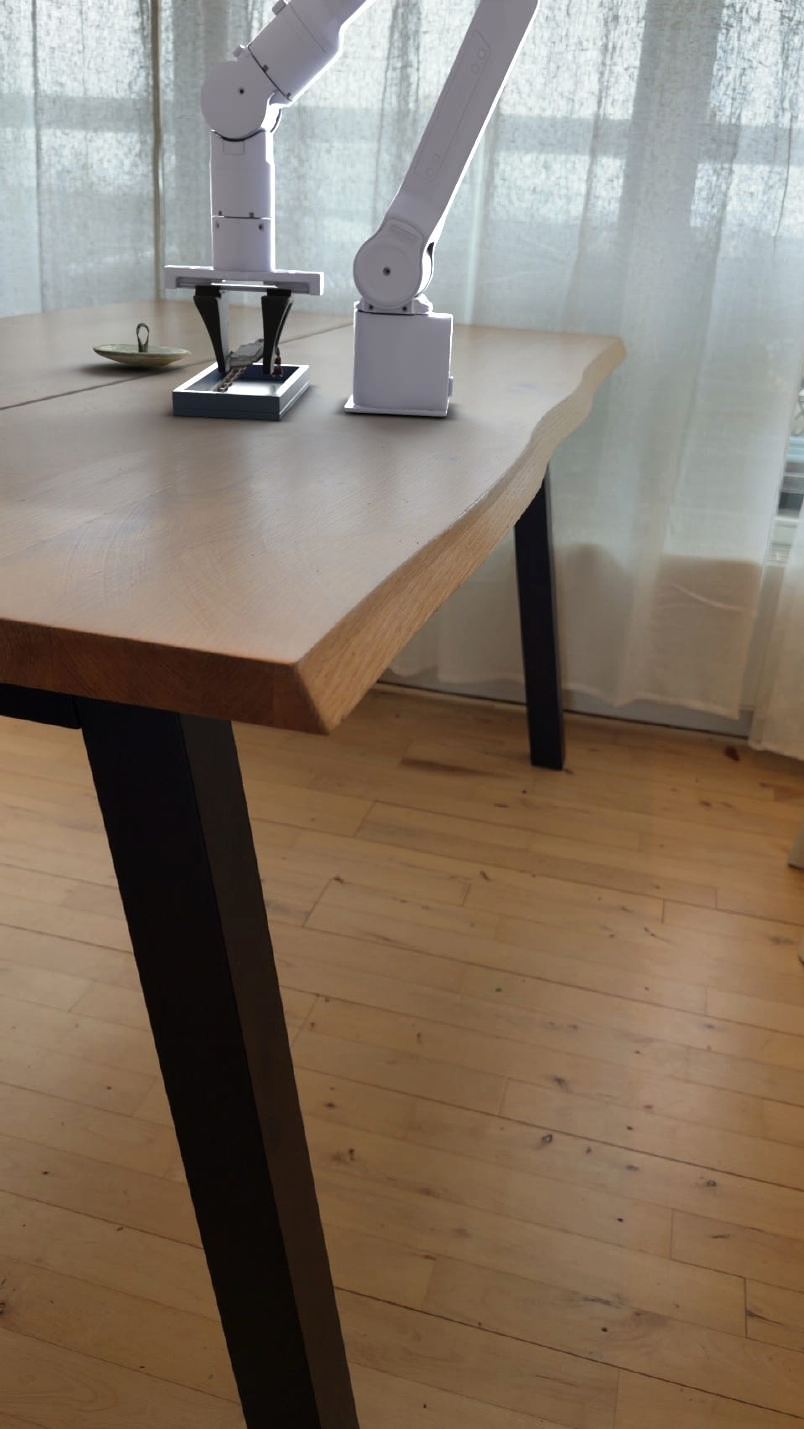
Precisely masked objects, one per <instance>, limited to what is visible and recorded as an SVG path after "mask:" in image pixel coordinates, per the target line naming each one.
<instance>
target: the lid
mask: <svg viewBox="0 0 804 1429" xmlns="http://www.w3.org/2000/svg"><path fill="white" fill-rule="evenodd" d="M141 328H145V329H146V332H147V337H146V339H145V340H146V341H145V342H144V343H143V342H142V339H141V338H140V335H139V333H140V331H141ZM135 332H136V333H135V334H136V338H137V344H136V343H135V344H133V343H132V344H131V343H124V344H123V343H121V344H119V343H118V344H116V343H109V344H108V343H107V344H101V345H95V346H93V348H92V350H93V351H94V353H96V354H97V355H98V356H100V357H103V358H105V359H108V360H111V361H114V362H117V363H120V364H125V365H130V366H134V367H142V368H154V367H165V366H168V365H170V364H172V363H175V362H178V361H180V360H181V361H182V360H183V359H186V358H188V357H190V355H191V354H192V352H191V351H190V350H187V349H184V348H183V349H182V348H177V347H172V346H167V345H154V344H153V345H150V344H149V337H150V328H149V326H148V325H147V324H146V323H145V322H140V323H138V324H137V326H136V328H135Z"/></svg>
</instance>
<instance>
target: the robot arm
mask: <svg viewBox="0 0 804 1429" xmlns="http://www.w3.org/2000/svg"><path fill="white" fill-rule="evenodd" d="M375 1H376V0H289V2H288V1H287V0H278V1H277V2H276V3H275V4H274V5H273V6H272V7H271V12H272V13H273V15H274V17H273V18H272V19H271V20H269V22H268V23H267V24H266V25H265V26H264V27H263V28H262V29H261V30H260V32H258V33H257V34H256V36H254V37H253V39H252V40H251V41H250V42H248V44H247V45H246V46H243V45H242V44H239V45H238V46H237V47H236V48H235V49H234V50H233V51H232V55H233V57H234V58H235V60H225V61H220V62H219V63H216V64H215V65H213V66H212V68H211V69H210V73H209V74H208V75H207V76H206V78H205V80H204V82H203V83H202V87H201V89H200V98H199V100H200V109H201V112H202V116H203V118H204V120H205V122H206V123H207V124H208V126H209V128H211V129H209V147H210V148H209V151H210V152H209V153H210V159H209V177H210V178H209V184H210V185H209V188H210V190H209V191H210V215H211V217H210V218H211V219H210V221H211V251H212V252H211V253H212V257H211V258H212V266H206V265H203V266H201V265H171V264H170V265H164V267H163V272H164V273H163V274H164V275H163V276H164V277H163V278H164V288H165V289H167V290H177V289H185V290H188V289H189V290H194V295H193V296H192V299H193V303H194V305H195V307H196V309H197V311H198V313H199V315H200V317H201V319H202V321H203V323H204V326H205V328H206V330H207V332H208V336H209V339H210V342H211V345H212V348H213V352H214V356H215V360H216V362H217V366H218V372H224V373H226V372H227V371H228V370H230V365H229V360H230V358H229V357H228V355H229V354H230V344H229V311H230V310H229V309H230V308H229V307H230V305H229V304H230V292H249V293H266V294H264V295H261V297H260V306H261V315H262V330H263V333H262V334H263V339H264V344H263V358H262V364H263V374H264V375H271V374H272V373H273V372H274V363H275V358H277V355H276V352H277V347H279V344H280V339H281V336H282V333H283V330H284V327H285V325H286V322H287V319H288V317H289V314H290V312H291V310H292V308H293V306H294V304H295V301H296V296H295V295H309V296H314V297H315V296H317V297H321V296H322V295H323V294H324V272H322V271H307V270H306V271H304V270H292V269H291V270H290V269H278V268H277V269H276V236H275V235H276V232H275V231H276V226H275V225H276V222H275V221H276V219H275V217H276V216H275V163H274V140H273V139H274V137H273V136H274V133H275V132H276V130H277V129H278V127H279V125H280V122H281V119H282V113H283V107H291V105H293V103H295V102H296V101H297V99H299V98H300V97H301V96H302V95H303V94H304V92H306V91H307V90H308V88H310V87H311V86H312V84H314V83H315V82H316V81H317V80H318V79H319V78H320V77H321V76H322V75H323V74H324V73H325V72H326V71H327V70H328V69H329V68H330V67H331V66H333V64H334V63H335V62H336V61H337V60H339V58H340V57H341V56H342V54H343V45H344V34H345V30H346V28H347V27H348V26H349V25H350V24H351V23H352V22H354V21H355V20H356V19H357V18H358V17H359V16H360V15H361V14H362V13H363V12H364V11H366V9H368V8H369V7H370V6H372V4H373V3H374V2H375ZM540 2H541V0H478V4H477V5H476V8H475V11H474V13H473V15H472V17H471V20H470V23H469V25H468V26H467V30H466V32H465V34H464V37H463V39H462V42H461V44H460V46H459V48H458V51H457V53H456V55H455V57H454V60H453V62H452V65H451V67H450V69H449V71H448V74H447V76H446V77H445V78H446V79H445V82H444V84H443V85H442V88H441V91H440V93H439V95H438V97H437V100H436V102H435V104H434V107H433V109H432V112H431V114H430V116H429V117H428V121H427V123H426V125H425V128H424V130H423V132H422V135H421V137H420V139H419V142H418V144H417V146H416V148H415V151H414V154H413V156H412V158H411V161H410V162H409V165H408V166H407V170H406V172H405V174H404V177H403V180H402V181H401V184H400V186H399V188H398V190H397V192H396V194H395V196H394V197H393V199H392V201H391V202H390V204H389V206H388V207H387V209H386V211H385V212H384V215H383V217H382V220H381V221H380V223H379V225H378V228H377V229H376V230H375V231H374V232H373V234H372V235H370V236H369V237H368V238H367V239H366V240H364V241H363V242H362V243H361V244H360V246H358V248H357V251H356V252H355V255H354V256H353V261H352V268H351V270H352V271H351V273H352V280H353V283H354V287H355V288H356V291H357V292H358V294H359V295H360V296H361V298H360V300H359V301H355V302H354V303H353V308H354V310H353V348H352V350H353V351H352V352H353V353H352V354H353V355H352V394H351V396H350V397H349V398H348V400H347V402H346V404H345V405H344V409H343V410H344V412H347V413H361V414H362V413H363V414H364V413H365V414H383V415H384V414H385V415H400V416H401V415H403V416H404V415H405V416H406V415H408V416H423V417H424V416H425V417H446V416H447V415H448V408H449V398H452V397H453V384H454V377H453V376H450V375H451V358H452V342H453V341H452V339H453V317H454V316H453V315H452V314H450V313H437V312H432V311H433V303H432V302H430V301H429V299H428V298H427V297H426V295H425V294H423V293H424V292H425V291H426V290H427V288H428V286H429V285H430V283H431V281H432V279H433V274H434V269H435V267H434V266H435V265H434V254H435V253H434V252H435V247H436V246H437V242H438V240H439V238H440V236H441V233H442V230H443V228H444V224H445V221H446V217H447V215H448V212H449V209H450V208H451V205H452V203H453V201H454V198H455V196H456V194H457V192H458V190H459V187H460V185H461V183H462V180H463V178H464V176H465V174H466V172H467V169H468V167H469V165H470V162H471V161H472V159H473V156H474V153H475V152H476V149H477V148H478V145H479V143H480V141H481V138H482V136H483V134H484V131H485V129H486V127H487V125H488V123H489V121H490V118H491V116H492V114H493V112H494V109H495V108H496V105H497V103H498V101H499V98H500V97H501V94H502V92H503V89H504V88H505V86H506V83H507V80H508V78H509V76H510V74H511V71H512V70H513V67H514V65H515V63H516V60H517V59H518V56H519V54H520V51H521V49H522V48H523V45H524V43H525V40H526V38H527V36H528V34H529V32H530V29H531V27H532V24H533V23H534V20H535V18H536V16H537V14H538V11H539V7H540ZM226 281H232V282H233V281H234V282H261V283H262V284H263V285H248V284H247V285H246V284H226ZM224 283H225V284H224Z"/></svg>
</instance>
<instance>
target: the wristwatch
mask: <svg viewBox="0 0 804 1429" xmlns="http://www.w3.org/2000/svg"><path fill="white" fill-rule="evenodd" d="M263 344H264V337H260V338H257V339H256V340H255V342H249V343H246V344H240V345H239V347H238V348H237V349H236V350H235V351H233V350H230V351H229V355H228V357H229V358H230V360H229V365H230V367H232V370H231V371H230V372H229V374H227V376H226V377H225V379H223V380H222V381H221V383H220V384H219V385H218V386H217V388H215V389H214V390H213V391H212V392H227V391H228V389H229V388H228V387H231V386H232V385H233V384H232V383H233V382H235V381H236V380H237V379H236V378H239V377H240V374H241V373H243V372H244V369H246V368H247V367H248V366H251V365H253V363H258V362H259V361H261V360H263ZM281 364H282V357H281V350H280V347H279V346H278V347H277V352H276V357H275V363H274V365H277V366H274V367H278V368H277V369H274V372H273V373H272V374H271V376H273V377H275V375H280V376H281V377H282V375H283V371H282V368H281V367H280V366H281ZM232 374H235V375H232ZM224 383H228V384H224ZM220 388H224V389H220Z"/></svg>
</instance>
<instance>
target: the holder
mask: <svg viewBox="0 0 804 1429" xmlns="http://www.w3.org/2000/svg"><path fill="white" fill-rule="evenodd" d="M274 366H277V365H274ZM280 367H281V368H282V371H283V375H282V377H281V376H280V375H275V377H273V376H271V375H264V374H263V363H261V362H260V363H258V362H257V363H253V365H251V366H248V367H247V368H246V369H244V372H243V373H241V374H240V377H239V378H236V379H237V380H236V381H235V382H233V383H232V384H233V385H232V386H231V387H228V388H229V389H228V391H227V392H212V391H213V390H214V389H215V388H217V386H218V385H219V384H220V383H221V381H222V380H223V379H225V377H226V376H227V374H229V372H230V371H231V370H232V367H230V370H228V371H227V372H226V373H224V372H218V366H217V361H216V362H215V363H212V365H210V366H208V367H207V368H205V369H204V370H202V371H201V372H199V373H197V375H195V376H193V377H192V378H190V379H189V380H187V381H185V382H184V383H183V384H181V385H180V386H178V387H176V388H175V389H174V390H172V391H171V402H172V415H173V416H184V417H203V418H220V419H221V418H222V419H223V418H224V419H244V420H263V421H281V419H282V418H283V417H284V416H285V415H286V414H287V413H288V411H289V410H290V409H291V408H292V407H293V406H294V404H295V403H296V402H297V401H298V400H299V399H300V397H301V396H302V395H304V393H305V392H306V391H307V389H308V388H309V387H310V366H309V365H301V364H300V365H299V364H282V363H281V366H280ZM277 368H278V367H274V369H277ZM232 375H235V374H232ZM224 384H228V383H224ZM220 389H224V388H220Z"/></svg>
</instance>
